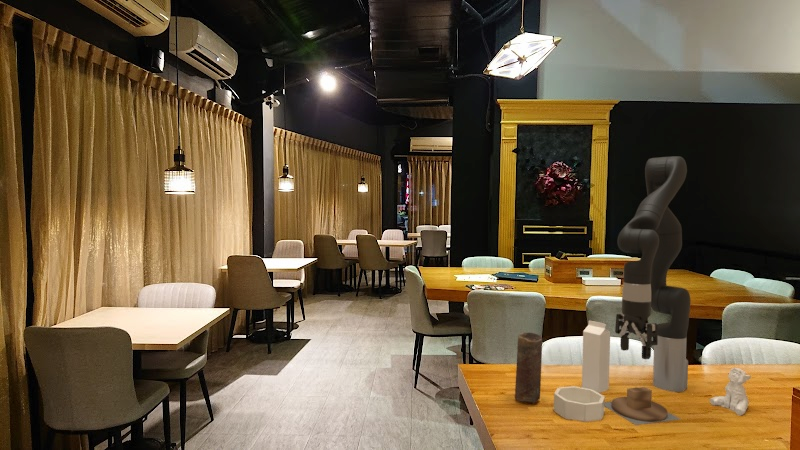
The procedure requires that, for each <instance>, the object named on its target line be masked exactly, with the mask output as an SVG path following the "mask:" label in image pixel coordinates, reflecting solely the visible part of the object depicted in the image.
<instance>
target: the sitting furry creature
mask: <svg viewBox="0 0 800 450" xmlns="http://www.w3.org/2000/svg"><path fill="white" fill-rule="evenodd" d="M751 377H752V375H751V374H750V375H749V374H748V375H747V372H746V371H745V370H743V369H741V368H739V367H731V369H730V371H729V372H728V380H729V382H727V385H725V387H724V390H725V395H723V396H722V395H721V396H719V395H718V396H713V397H711V398H709V403H710V404H711V405H712V406H717V407H722V408H725V409H727V410H728V409H729V411H731V412H735V414H736V416H745V413H746V412H747V409H748V407H749V404H750V402H749V398H748V395H747V392H746V387H745V386H744V384H745V383H746V382H747V381H749V380H750V379H751Z"/></svg>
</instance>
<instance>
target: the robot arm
mask: <svg viewBox="0 0 800 450" xmlns="http://www.w3.org/2000/svg"><path fill="white" fill-rule="evenodd" d="M687 173H688V167H687V163H686V160H685V159H684V157H682V156H679V155H678V156H676V155H675V156H661V157H652V158H648V160H647V161H646V163H645V167H644V177H645V186H646V192H647V193H646V194H647V196H646V197H645V198H644V199H643V200H642V201H641V202H640V203H639V205H638V207H637V209H636V212H635V213H634V216H633V218H631V220H630V221H628V223H627V224H626V225H625V226H624V227H623V228H622V229H621V231H620V232H619V233H618V236H617V241H616V242H617V246H618V249H619V250H620V251H622V252H623V253H627V254H639V255H640V254H641V257H640V259H639V260H633V261H627V262H626V263H624V266H623V283H622V289H621V290H622V292H621V294H622V295H621V313H617V314H616V315H615V325H614V326H615V328H614V330H615V331H614V332H615V333H616V334H618V336H619V338H620V350H621V351H623V352H624V351H628V350H629V349H630V338H629V336H630V335H631V333H632V334H634V335H635V336H637V339H639V340H640V342H641V359H643V360H650V359H651V357H652V346H653V361H652V362H653V367H652V368H653V369H652V370H653V371H652V386H654V387H655V388H657V389H659V390H663V391H668V392H674V393H682V392H684V391H685V390H688V380H689V379H688V378H689V377H688V376H689V360H688V359H687V358H686V357H687V334H688V329H689V323H690V311H691V295H690V292H689V290H688V289H686V288H684V287H680V286H679V287H678V286H671V285H667V278H668V277H667V275H668V271H669V269H670V267H671V266H672V264H673V262H674V261H675V259H676V258H677V257H678V255H679V254H680V252H681V250H682V247H683V230H682V224H681V223H680V221H679V220H678V218H677V216H675V214H674V213H673V212H672V210H671V209H670V208H669V204H670V203H671V201H672V200H673V199H674V198H675V196H676V194H677V193H678V192H679V190H680V189H681V187H682V186H683V184H684V183H685V180H686V178H687ZM652 311H654V312H656V313H660V314H664V315H668V316H671V317H670V321H668V322H663V323H661V322H660V323H658V324H657V323H651V322H649V318H650V317H651V313H652Z"/></svg>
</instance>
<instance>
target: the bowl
mask: <svg viewBox="0 0 800 450" xmlns="http://www.w3.org/2000/svg"><path fill="white" fill-rule="evenodd" d="M553 394H554V395H553V411H554V412H555V413H556V414H557V415H559V416H560V417H562V418H563V419H566V420H570V421H573V420H575V421H579V422H593V421H594V422H595V421H601V420H603V417H604V414H605V406H604V403H605V402H606V400H605V397H606V396H605V395H603V394H601V393H598V392H596V391H594V390H592V389H587V388H582V386H581V387H580V386H574V385H572V386H562V387H561V386H560V387H557V388H556V390H555V391H554V393H553Z"/></svg>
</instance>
